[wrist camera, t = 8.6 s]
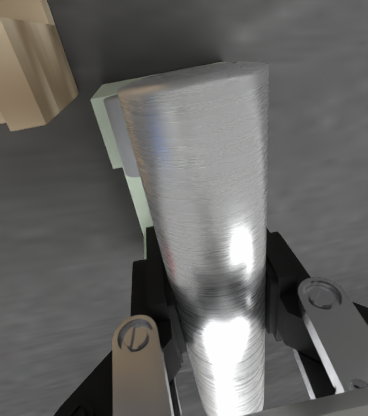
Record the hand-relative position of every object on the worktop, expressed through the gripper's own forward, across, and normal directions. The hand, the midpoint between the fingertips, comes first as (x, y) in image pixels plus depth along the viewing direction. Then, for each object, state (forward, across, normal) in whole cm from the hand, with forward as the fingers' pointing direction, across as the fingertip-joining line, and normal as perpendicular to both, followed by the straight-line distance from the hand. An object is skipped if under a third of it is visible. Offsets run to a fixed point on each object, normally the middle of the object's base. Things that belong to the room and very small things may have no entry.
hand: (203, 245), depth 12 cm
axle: (-3, 0, 0) cm, 3 cm away
